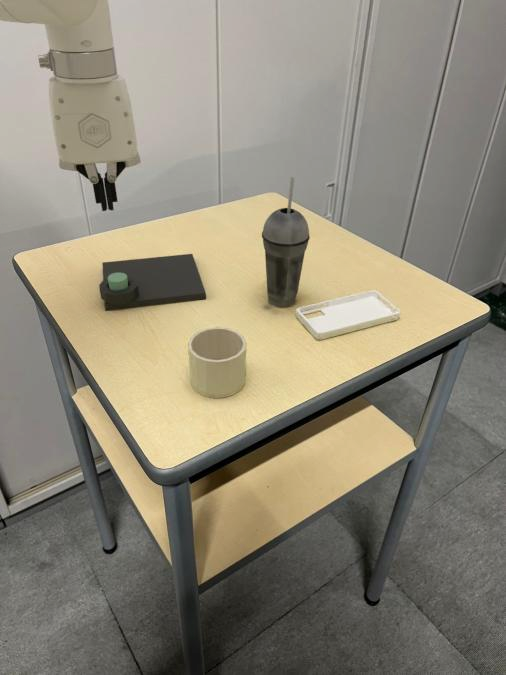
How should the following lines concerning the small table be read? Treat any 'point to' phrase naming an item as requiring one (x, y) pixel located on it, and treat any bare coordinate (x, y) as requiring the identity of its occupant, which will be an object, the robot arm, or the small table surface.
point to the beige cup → (217, 362)
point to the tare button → (117, 281)
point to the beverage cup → (284, 253)
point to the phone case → (347, 314)
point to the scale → (153, 282)
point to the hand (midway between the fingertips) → (107, 206)
